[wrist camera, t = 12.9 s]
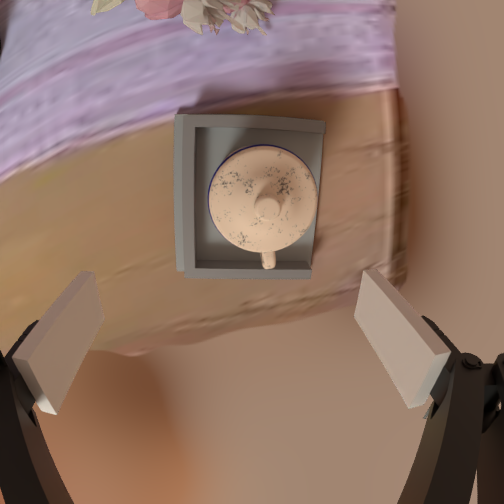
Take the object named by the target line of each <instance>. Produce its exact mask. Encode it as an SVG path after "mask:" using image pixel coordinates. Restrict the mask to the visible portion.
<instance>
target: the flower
mask: <svg viewBox="0 0 504 504" xmlns="http://www.w3.org/2000/svg"><path fill="white" fill-rule="evenodd" d="M123 1H124V0H94V1H93V4H92V8H91V15H95V14H96V13H99V12H104V11H109V10H111V9H112V8H114V7H116V6H117V5H119V4H121V3H122V2H123ZM135 2H136V7H137V9H138V10H140V11H143V12H145V17H147V18H149V19H150V20H158V19H167V18H174V17H175V16H177V15H178V14H180V13H181V16H182V17H183V24H185V25H186V26H188V27H189V28H190V29H192V30H193V31H194V32H196V33H198V34H201V35H203V31H202V24H203V25H209V27H210V31H211V32H212V30H213V29H214V31H215V33H216V35H217V33H218V32H219V29H215V26H214V24H216V25H217V26H218V27H220V26H221V24H222V23H223V20H225V19H227V20H228V21H230V23H231V24H232V29H233V30H235V31H237V32H238V33H240V34H242V33H245V31H246V32H247V35H248V33H249V31H248V29H247V28H249V30H250V29H251V30H252V29H254V28H258V29H259V31H260V32H261V33H262V34H263V35H266V33H265V32H264V31H263V30H262V29H261V28H260V26H259V24H258V18H259V19H261V20H263V21H267V20H269V19H268V18H266V17H265V15H264V12H267V13H270V14H273V15H275V14H274V13H273V12H272V11H271V10H270V9H271V7H272V5H273V4H272V3H271V2H270V1H267V0H135ZM226 13H231V16H228V15H227V14H226ZM268 22H269V21H268Z"/></svg>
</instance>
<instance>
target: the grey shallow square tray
mask: <svg viewBox="0 0 504 504" xmlns="http://www.w3.org/2000/svg"><path fill="white" fill-rule="evenodd" d="M325 131H326V122H324V121H319V120H310V119H301V118H290V117H278V116H263V115H241V114H175V121H174V221H175V247H176V266H177V271H184V273H185V278H207V279H311V273H312V269H311V267H310V265H311V257H312V249H313V241H314V232H315V223H316V214H317V209H316V213H315V216H314V219H313V221H312V223H311V225H310V226H309V228H308V229H307V231H306V232H305V233H304V234H303V235H302V236H301V237H300V238H299V239H298V240H297V241H295V242H294V243H292V244H291V245H289V246H287V247H285V248H283V249H280V250H277V251H275V256H276V265H275V267H274V268H272V269H265V268H264V267H263V266H262V262H261V256H260V252H252V251H248V250H245V249H242V248H239V247H237V246H235V245H234V244H232V243H230V242H229V241H228V240H226V239H225V238H224V237H223V236H222V235H221V234H220V233H219V231H218V230H217V228H216V227H215V225H214V223H213V221H212V219H211V216H210V213H209V209H208V189H209V185H210V182H211V179H212V177H213V175H214V173H215V171H216V170H217V168H218V167H219V165H220V164H221V163H222V162H223V161H224V159H225V158H226V157H227V156H228V155H229V154H231V153H232V152H233V151H235V150H237V149H239V148H241V147H244V146H249V145H258V144H269V145H275V146H279V147H282V148H285V149H287V150H289V151H291V152H293V153H294V154H296V155H297V156H298V157H300V158H301V159H302V160H303V161H304V162H305V164H306V165H307V166H308V167H309V169H310V171H311V172H312V174H313V176H314V179H315V182H316V186H317V192H318V193H319V182H320V170H321V158H322V144H323V134H325ZM317 204H318V203H317Z"/></svg>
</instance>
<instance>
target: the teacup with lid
mask: <svg viewBox="0 0 504 504" xmlns="http://www.w3.org/2000/svg"><path fill="white" fill-rule="evenodd" d="M317 203H318V192H317V186H316V182H315V179H314V176H313V174H312V172H311V171H310V169H309V167H308V166H307V165H306V164H305V162H304V161H303V160H302V159H301V158H300V157H298V156H297V155H296V154H294V153H293V152H291V151H289V150H287V149H285V148H282V147H279V146H275V145H269V144H258V145H249V146H244V147H241V148H239V149H237V150H235V151H233V152H232V153H231V154H229V155H228V156H227V157H226V158H225V159H224V161H223V162H222V163H221V164H220V165H219V167H218V168H217V170H216V171H215V173H214V175H213V177H212V179H211V182H210V185H209V189H208V209H209V213H210V216H211V219H212V221H213V223H214V225H215V227H216V228H217V230H218V231H219V233H220V234H221V235H222V236H223V237H224V238H225V239H226V240H228V241H229V242H230V243H232V244H234V245H235V246H237V247H239V248H242V249H245V250H248V251H252V252H260V256H261V262H262V266H263V267H264V268H265V269H272V268H274V267H275V265H276V256H275V251H277V250H280V249H283V248H285V247H287V246H289V245H291V244H292V243H294V242H295V241H297V240H298V239H299V238H300V237H301V236H302V235H303V234H304V233H305V232H306V231H307V229H308V228H309V226H310V225H311V223H312V221H313V219H314V216H315V213H316V209H317Z"/></svg>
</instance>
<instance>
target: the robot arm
mask: <svg viewBox="0 0 504 504" xmlns="http://www.w3.org/2000/svg"><path fill="white" fill-rule="evenodd" d="M0 48H1V41H0ZM354 317H355V319H356V321H357V323H358V324H359V326H360V327H361V329H362V330H363V332H364V334H365V335H366V337H367V339H368V340H369V342H370V344H371V345H372V347H373V349H374V350H375V352H376V353H377V355H378V357H379V358H380V360H381V362H382V364H383V365H384V367H385V369H386V370H387V372H388V374H389V376H390V377H391V379H392V380H393V382H394V384H395V386H396V388H397V389H398V391H399V393H400V395H401V396H402V398H403V400H404V402H405V403H406V405H407V407H408V409H410V408H414V407H417V406H420V405H424V403H425V402H426V400H427V398H428V396H429V395H431V396H432V398H433V399H434V401H433V402H432V404H431V406H430V407H429V409H428V411H427V412H426V415H425V416H424V417H423V418H424V419H426V417H427V416H428V418H427V421H426V425H425V428H424V432H423V435H422V439H421V442H420V445H419V448H418V451H417V454H416V457H415V460H414V463H413V466H412V468H411V471H410V474H409V476H408V479H407V481H406V484H405V486H404V489H403V491H402V494H401V496H400V498H399V500H398V503H397V504H469V501H470V497H471V493H472V488H473V483H474V479H475V474H476V469H477V490H478V504H504V353H503V354H500V355H498V357H497V359H496V361H495V363H494V364H483V362H482V361H481V359H479V358H478V357H477V356H475V355H473V354H471V353H460V351H459V350H458V349H457V348H456V347H455V346H454V344H453V343H452V342H451V341H450V340H449V339H448V338H447V336H445V335H444V333H443V332H442V331H441V330H439V328H438V326H437V325H436V324H435V323H434V322H433V321H431V320H430V319H428V318H427V317H425V316H420V315H419V314H418V313H417V312H416V311H415V309H414V308H413V307H412V306H411V305H410V304H409V303H408V302H407V301H406V300H405V299H404V297H403V296H402V295H401V294H400V293H399V292H398V291H397V290H396V289H395V288H394V287H393V286H392V285H391V284H390V283H389V282H388V281H387V280H386V278H385V277H384V276H383V275H382V274H381V273H380V272H379V271H378V270H364V271H363V276H362V281H361V286H360V291H359V296H358V301H357V305H356V310H355V314H354ZM104 320H105V318H104V314H103V310H102V306H101V301H100V297H99V292H98V288H97V283H96V278H95V273H94V272H87V271H81V272H80V273H79V274H78V275H77V276H76V278H75V279H74V280H73V281H72V282H71V283H70V284H69V286H68V287H67V288H66V289H65V290H64V291H63V292H62V294H61V295H60V296H59V297H58V298H57V300H56V301H55V302H54V303H53V304H52V306H51V307H50V308H49V309H48V310H47V312H46V313H45V314H44V315H43V317H42V318H41V319H40V320H36V321H35V322H34V323H32V324H31V325H29V326H28V327H27V328H26V330H25V331H24V332H23V333H22V335H21V336H20V337H19V339H18V341H16V343H15V344H14V345H13V346H12V348H11V349H10V350H9V352H8V353H7V355H6V356H5V357H3V355H2V353H1V351H0V488H1V491H2V495H3V498H4V500H5V504H74V503H73V501H72V499H71V497H70V495H69V493H68V491H67V489H66V487H65V485H64V483H63V481H62V479H61V477H60V475H59V472H58V470H57V468H56V466H55V464H54V461H53V459H52V457H51V454H50V452H49V449H48V447H47V444H46V442H45V439H44V436H43V434H42V431H41V428H40V425H39V422H38V419H37V416H36V413H35V412H34V410H33V408H32V407H33V405H34V403H35V401H36V403H37V404H38V406H39V407H40V409H41V411H44V412H47V413H51V414H55V415H57V414H58V412H59V409H60V407H61V405H62V403H63V401H64V398H65V396H66V394H67V392H68V390H69V388H70V385H71V383H72V381H73V379H74V377H75V375H76V373H77V371H78V369H79V367H80V365H81V363H82V361H83V359H84V357H85V355H86V353H87V351H88V349H89V348H90V346H91V344H92V342H93V340H94V338H95V336H96V334H97V333H98V331H99V329H100V327H101V325H102V323H103V322H104ZM500 402H501V410H500V409H499V406H498V405H499V403H500Z"/></svg>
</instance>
